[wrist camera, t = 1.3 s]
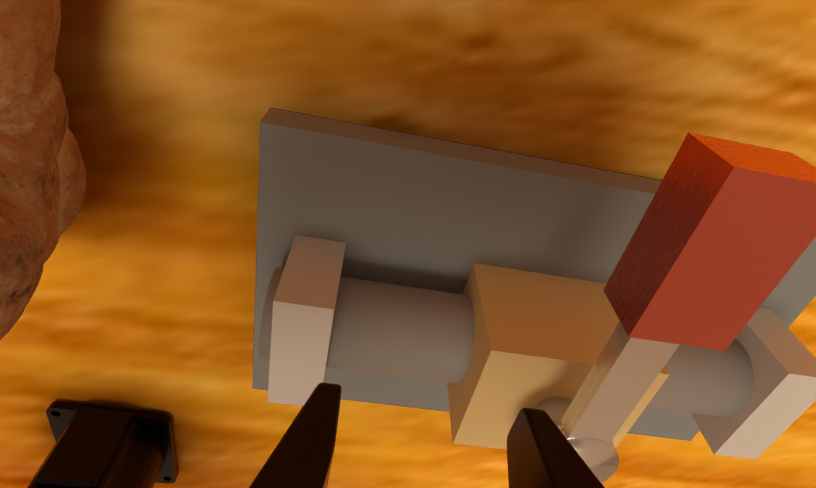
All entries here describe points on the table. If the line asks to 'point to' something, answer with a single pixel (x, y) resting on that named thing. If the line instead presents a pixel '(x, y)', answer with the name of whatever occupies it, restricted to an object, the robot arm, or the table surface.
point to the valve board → (450, 227)
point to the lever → (692, 274)
